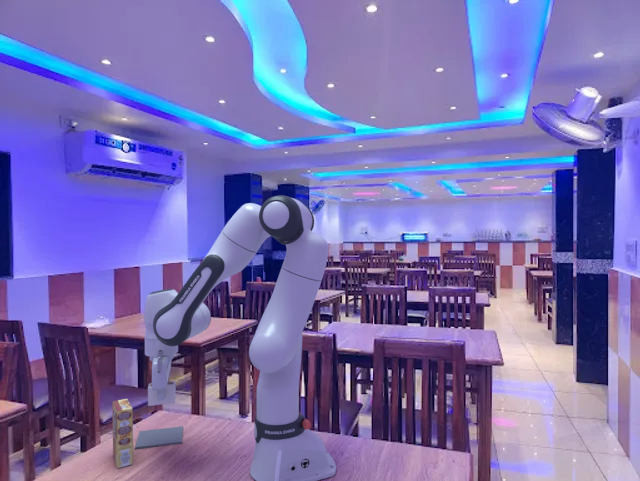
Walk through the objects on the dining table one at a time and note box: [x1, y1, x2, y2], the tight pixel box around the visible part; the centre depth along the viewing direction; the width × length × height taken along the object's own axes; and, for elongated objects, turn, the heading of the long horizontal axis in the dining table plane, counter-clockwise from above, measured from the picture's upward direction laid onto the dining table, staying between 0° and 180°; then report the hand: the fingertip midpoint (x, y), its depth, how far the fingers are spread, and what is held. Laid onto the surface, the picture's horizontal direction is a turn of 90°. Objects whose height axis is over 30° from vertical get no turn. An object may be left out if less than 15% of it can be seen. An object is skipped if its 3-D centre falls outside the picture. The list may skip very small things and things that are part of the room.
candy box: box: [112, 398, 134, 469], centre depth 118 cm, size 9×4×15 cm, turn 33°
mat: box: [134, 425, 184, 450], centre depth 131 cm, size 13×11×1 cm
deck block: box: [147, 380, 176, 407], centre depth 120 cm, size 7×4×5 cm, turn 106°
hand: (162, 396), depth 120 cm, fingers closed on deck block, 4 cm apart
